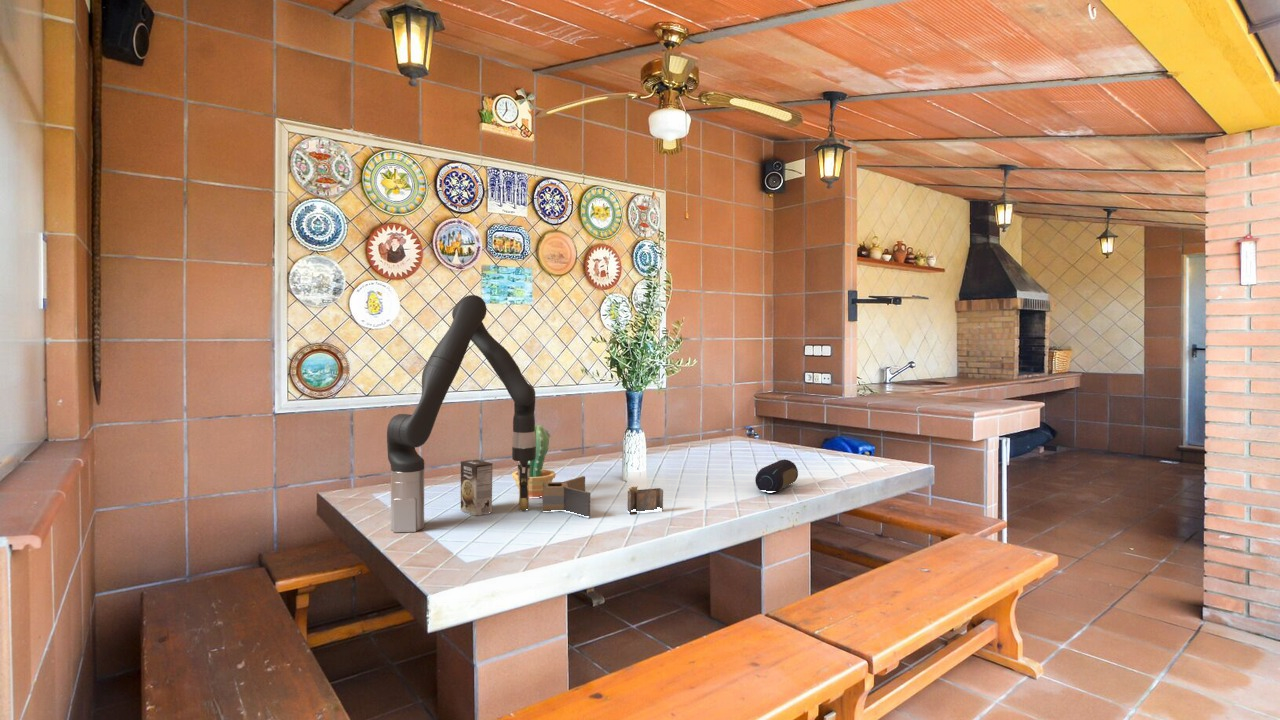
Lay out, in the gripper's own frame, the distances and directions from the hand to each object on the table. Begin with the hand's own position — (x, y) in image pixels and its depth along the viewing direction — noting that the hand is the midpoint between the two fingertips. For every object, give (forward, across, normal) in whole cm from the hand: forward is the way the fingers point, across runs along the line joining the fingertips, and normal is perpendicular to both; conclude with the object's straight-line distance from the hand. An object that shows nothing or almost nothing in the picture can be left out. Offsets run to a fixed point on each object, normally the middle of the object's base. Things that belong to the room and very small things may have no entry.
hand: (523, 494), depth 214 cm
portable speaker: (+6, -20, +94) cm, 96 cm away
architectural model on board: (+6, +8, +39) cm, 40 cm away
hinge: (+5, +1, +13) cm, 14 cm away
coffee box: (+5, +1, -15) cm, 16 cm away
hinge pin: (+5, 0, 0) cm, 5 cm away
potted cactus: (+5, -18, +3) cm, 20 cm away
